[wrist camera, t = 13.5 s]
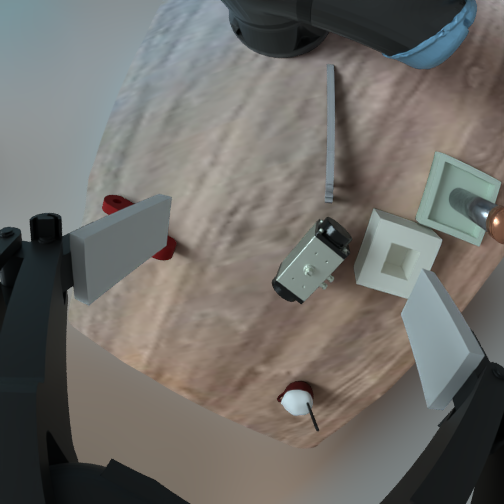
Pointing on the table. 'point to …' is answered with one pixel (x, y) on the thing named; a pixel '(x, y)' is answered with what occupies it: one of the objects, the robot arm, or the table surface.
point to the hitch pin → (479, 212)
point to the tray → (439, 188)
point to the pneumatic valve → (312, 261)
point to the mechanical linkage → (118, 203)
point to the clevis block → (394, 253)
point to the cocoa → (298, 399)
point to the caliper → (330, 134)
